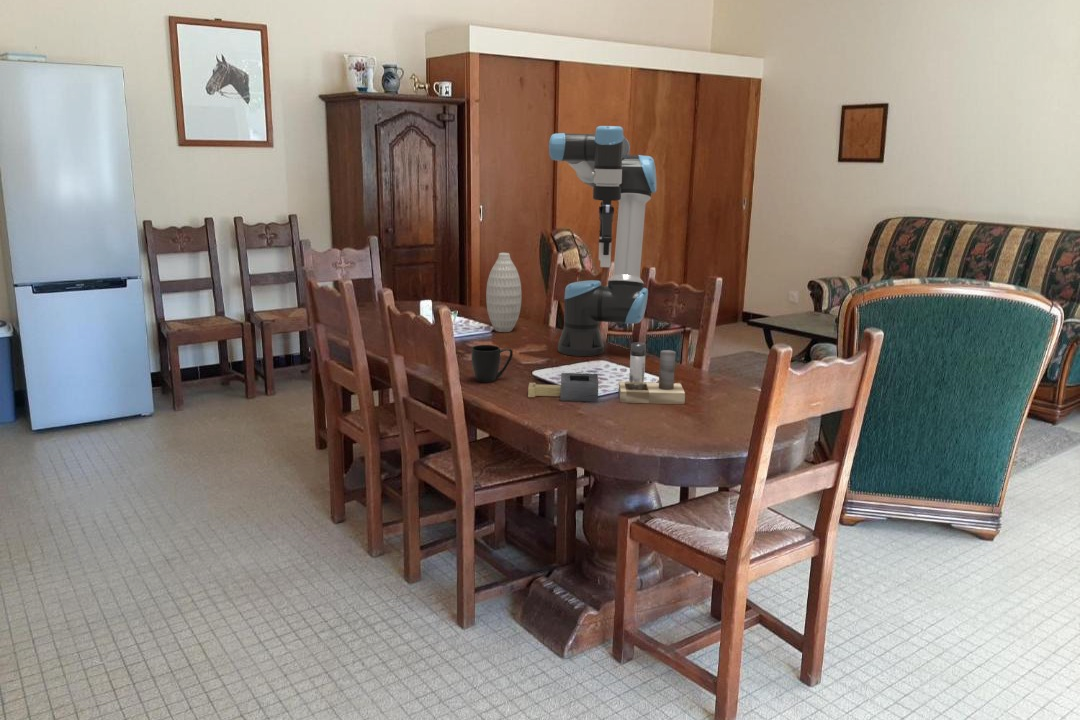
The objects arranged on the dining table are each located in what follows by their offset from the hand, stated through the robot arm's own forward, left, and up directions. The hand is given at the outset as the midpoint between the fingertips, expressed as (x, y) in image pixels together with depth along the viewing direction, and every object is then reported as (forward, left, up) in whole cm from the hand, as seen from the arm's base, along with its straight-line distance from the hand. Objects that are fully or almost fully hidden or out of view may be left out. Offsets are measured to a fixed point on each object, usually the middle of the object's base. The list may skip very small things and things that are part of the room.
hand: (604, 263), depth 237 cm
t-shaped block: (+12, -14, -35) cm, 39 cm away
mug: (-2, -31, -35) cm, 47 cm away
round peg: (+12, +9, -35) cm, 38 cm away
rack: (+12, +13, -35) cm, 39 cm away
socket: (+12, -6, -35) cm, 37 cm away
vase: (-69, -33, -35) cm, 84 cm away
